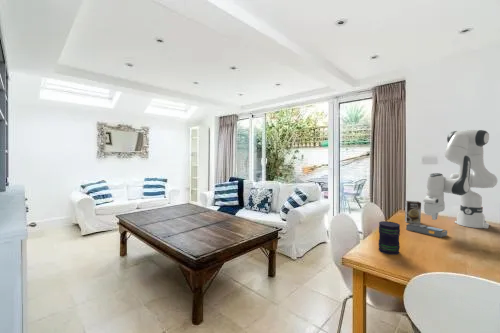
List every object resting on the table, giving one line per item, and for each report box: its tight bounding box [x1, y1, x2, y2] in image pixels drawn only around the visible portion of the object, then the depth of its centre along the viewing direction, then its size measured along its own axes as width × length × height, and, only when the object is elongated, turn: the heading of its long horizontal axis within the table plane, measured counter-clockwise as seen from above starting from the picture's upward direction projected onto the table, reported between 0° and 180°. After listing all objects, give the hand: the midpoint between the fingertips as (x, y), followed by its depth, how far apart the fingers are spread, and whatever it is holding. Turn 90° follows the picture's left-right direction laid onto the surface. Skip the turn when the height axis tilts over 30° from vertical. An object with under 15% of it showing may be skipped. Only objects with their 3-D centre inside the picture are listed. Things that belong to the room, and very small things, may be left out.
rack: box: [405, 223, 448, 239], centre depth 162 cm, size 8×20×4 cm, turn 32°
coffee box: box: [404, 200, 422, 224], centre depth 187 cm, size 9×6×16 cm
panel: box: [426, 226, 444, 232], centre depth 158 cm, size 5×8×3 cm, turn 32°
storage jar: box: [378, 220, 401, 256], centre depth 130 cm, size 10×10×15 cm
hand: (434, 219), depth 158 cm, fingers closed
